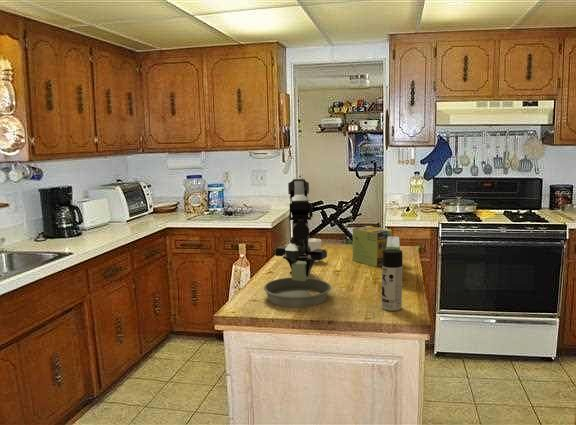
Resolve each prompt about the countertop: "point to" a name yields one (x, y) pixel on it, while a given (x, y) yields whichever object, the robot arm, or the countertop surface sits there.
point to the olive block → (299, 271)
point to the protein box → (370, 244)
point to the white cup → (314, 245)
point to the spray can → (392, 279)
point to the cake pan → (296, 292)
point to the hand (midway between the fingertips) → (301, 275)
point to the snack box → (393, 243)
